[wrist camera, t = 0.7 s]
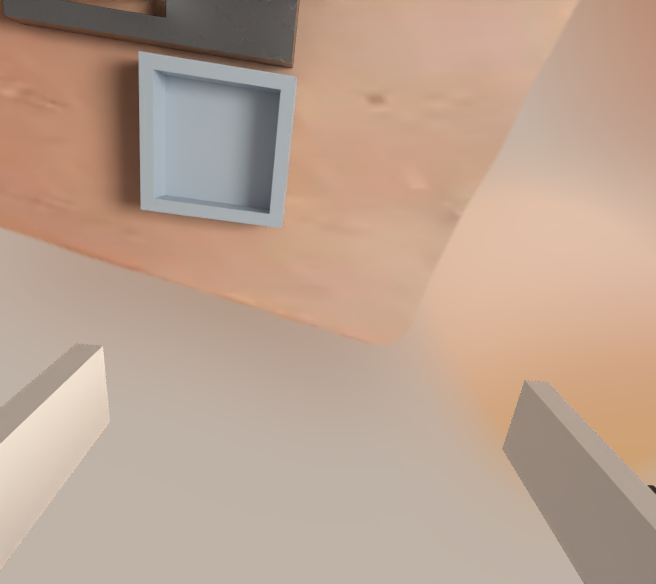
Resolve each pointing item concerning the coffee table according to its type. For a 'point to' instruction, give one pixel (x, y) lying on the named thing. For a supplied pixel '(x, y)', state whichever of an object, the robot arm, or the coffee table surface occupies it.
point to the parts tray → (214, 139)
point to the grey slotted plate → (180, 25)
